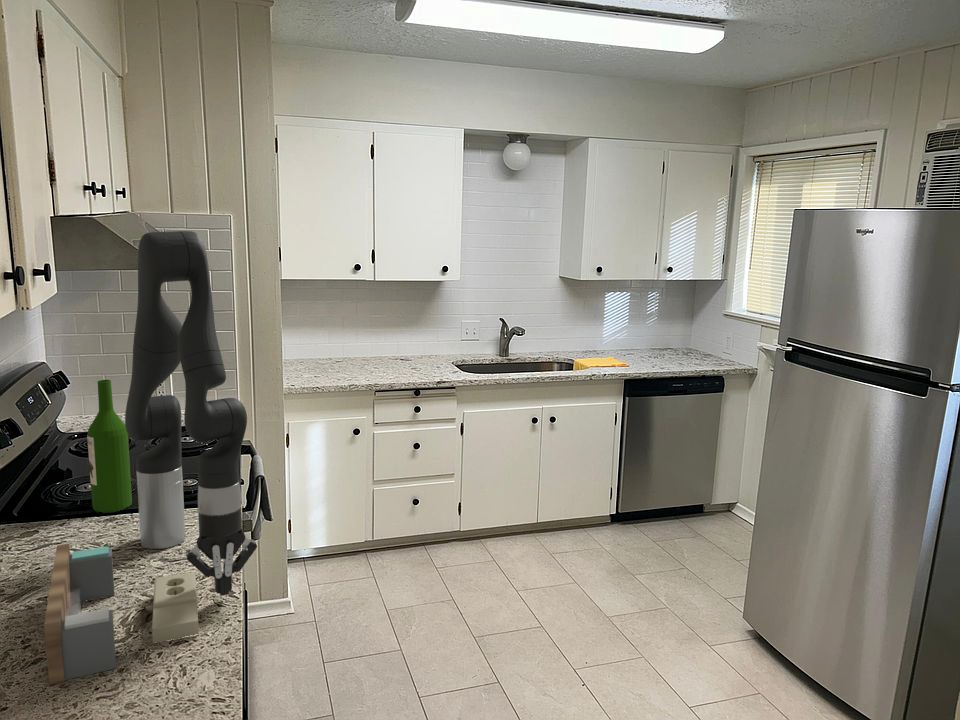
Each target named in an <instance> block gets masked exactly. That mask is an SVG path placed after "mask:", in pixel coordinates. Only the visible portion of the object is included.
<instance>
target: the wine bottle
mask: <svg viewBox="0 0 960 720" xmlns="http://www.w3.org/2000/svg"><path fill="white" fill-rule="evenodd" d="M97 393H98V394H97V396H98V397H97V398H98V399H97V400H98V411H97V414H96V416H95V418H94V419H93V420H92V422H91V424H90V426H89V427H88V429H87V437H86V438H87V449H88V451H87V452H88V453H87V454H88V464H89V465H88V466H89V477H90V491H91V492H90V493H91V506H92V510H93V509H94V510H95V511H98V512H97V513H99V512H102V513H101V514H111V513H116V512H117V511H118V512H120V510H122V511H124V510H123V509H125V508H127V507H129V506H130V505H131V506H132V504H133V495H132V493H133V491H132V480H131V477H132V476H131V465H130V464H131V461H130V446H129V444H130V443H129V435H128V433H127V431H126V426H125V423H124V422H123V420H122V419H121V418H120V417H119V415H118V414H117V412H115V409H114V402H113V401H114V400H113V391H112V380H111V379H100V380H97ZM131 506H130V507H131ZM130 507H129V508H130ZM127 509H128V508H127ZM94 510H93V511H94ZM125 510H126V509H125ZM95 511H94V512H95Z"/></svg>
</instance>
